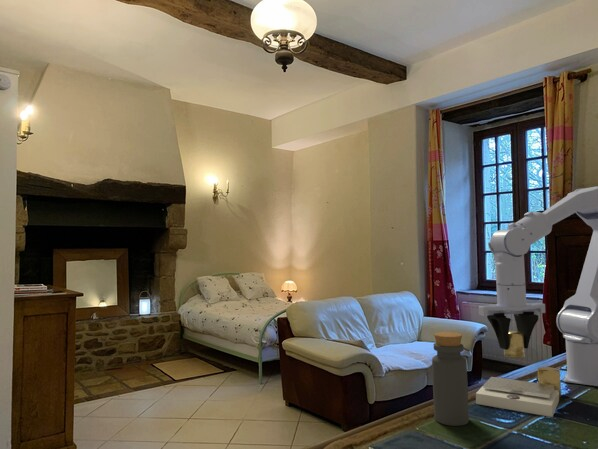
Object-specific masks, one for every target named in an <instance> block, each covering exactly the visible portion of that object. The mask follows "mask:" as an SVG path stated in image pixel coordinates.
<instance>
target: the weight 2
mask: <svg viewBox="0 0 598 449" xmlns="http://www.w3.org/2000/svg"><path fill="white" fill-rule="evenodd" d="M537 383H541V384H548V385H554V390H559V398H560V397H562V388H561V387H562V386H561V371H560V369H558V368H556V367H549V366H539V367H537Z"/></svg>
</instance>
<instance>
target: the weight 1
mask: <svg viewBox="0 0 598 449" xmlns="http://www.w3.org/2000/svg"><path fill="white" fill-rule="evenodd" d="M503 355H504V357H506V358H510V359H524V358H525V357H526V356H525V348H524V333H523V332H519V331H517V330H509V349H508V350H505V349H503Z"/></svg>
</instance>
